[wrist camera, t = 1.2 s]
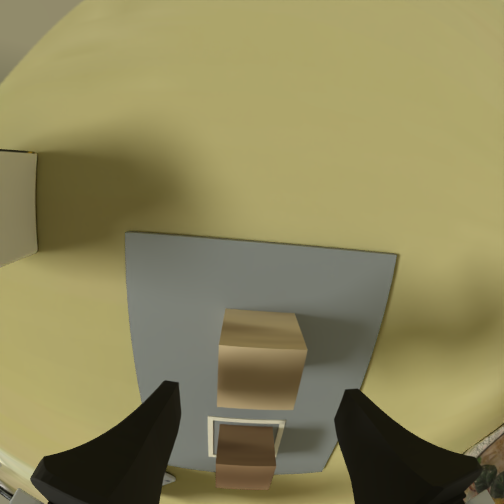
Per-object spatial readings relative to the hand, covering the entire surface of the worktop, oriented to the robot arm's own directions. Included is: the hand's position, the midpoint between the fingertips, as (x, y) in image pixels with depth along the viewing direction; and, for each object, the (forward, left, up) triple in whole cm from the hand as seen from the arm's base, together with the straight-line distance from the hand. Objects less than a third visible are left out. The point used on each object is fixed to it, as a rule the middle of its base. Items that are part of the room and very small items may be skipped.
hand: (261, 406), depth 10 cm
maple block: (0, 0, -6) cm, 6 cm away
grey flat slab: (-4, -3, -6) cm, 8 cm away
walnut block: (-8, -6, -6) cm, 12 cm away
